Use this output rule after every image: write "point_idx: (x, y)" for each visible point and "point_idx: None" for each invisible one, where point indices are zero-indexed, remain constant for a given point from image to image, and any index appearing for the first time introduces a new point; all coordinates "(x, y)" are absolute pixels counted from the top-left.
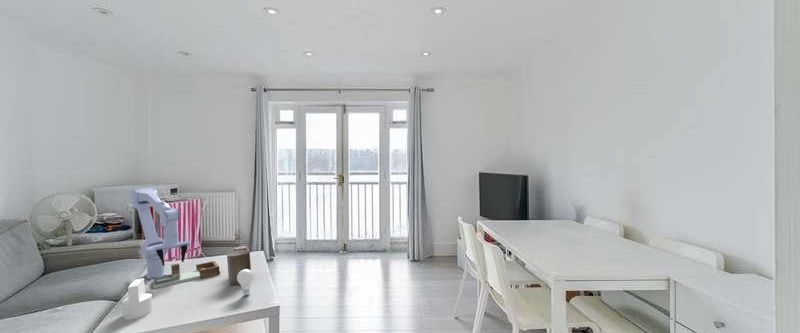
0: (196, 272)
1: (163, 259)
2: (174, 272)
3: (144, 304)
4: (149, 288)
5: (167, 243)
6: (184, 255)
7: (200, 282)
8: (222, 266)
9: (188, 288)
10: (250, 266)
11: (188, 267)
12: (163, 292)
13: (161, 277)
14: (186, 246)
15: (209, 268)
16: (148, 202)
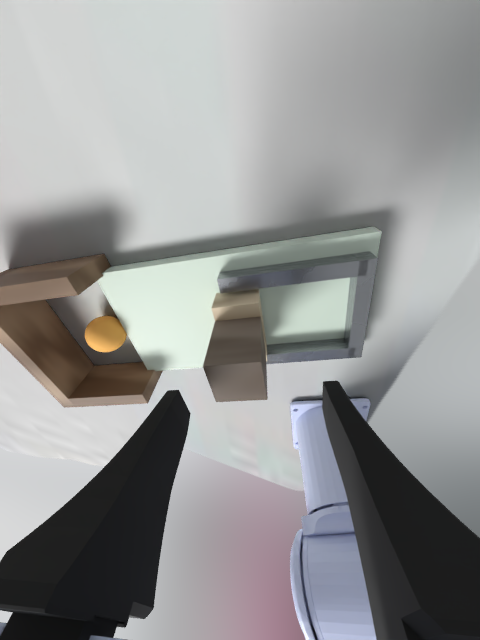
0: (147, 344)
1: (352, 440)
2: (246, 326)
3: None
4: (394, 250)
5: None
6: (123, 447)
7: (68, 158)
8: None
9: (113, 7)
10: None
11: (213, 434)
12: (328, 34)
13: (320, 347)
14: (24, 613)
15: (8, 286)
16: None
